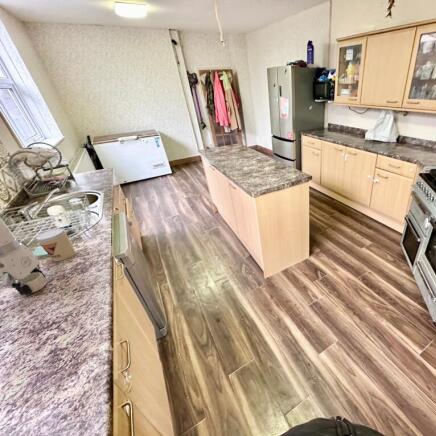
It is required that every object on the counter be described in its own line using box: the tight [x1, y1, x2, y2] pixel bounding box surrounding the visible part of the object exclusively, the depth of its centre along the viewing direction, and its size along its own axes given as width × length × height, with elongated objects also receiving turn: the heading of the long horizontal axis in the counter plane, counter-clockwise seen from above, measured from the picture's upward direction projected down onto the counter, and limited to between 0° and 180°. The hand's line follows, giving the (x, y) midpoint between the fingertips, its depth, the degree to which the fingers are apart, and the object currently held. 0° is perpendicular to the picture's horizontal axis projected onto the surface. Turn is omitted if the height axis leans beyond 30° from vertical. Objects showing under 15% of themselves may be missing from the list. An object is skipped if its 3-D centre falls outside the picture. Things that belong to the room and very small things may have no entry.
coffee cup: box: [35, 227, 76, 262], centre depth 102 cm, size 9×9×12 cm
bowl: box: [15, 272, 48, 294], centre depth 87 cm, size 7×7×4 cm
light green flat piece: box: [31, 245, 50, 259], centre depth 108 cm, size 12×10×3 cm
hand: (34, 285), depth 87 cm, fingers closed on bowl, 7 cm apart
